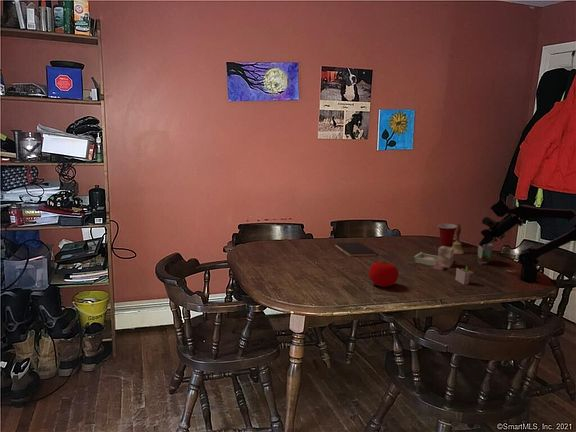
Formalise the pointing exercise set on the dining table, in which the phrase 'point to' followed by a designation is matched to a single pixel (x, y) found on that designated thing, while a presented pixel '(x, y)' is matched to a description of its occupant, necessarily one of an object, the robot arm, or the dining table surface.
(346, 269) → the dining table surface
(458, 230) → the hand bell
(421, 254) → the channel
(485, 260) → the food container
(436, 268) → the trap bays
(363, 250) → the hardcover book
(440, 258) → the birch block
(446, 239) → the plastic cup
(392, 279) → the tomato
